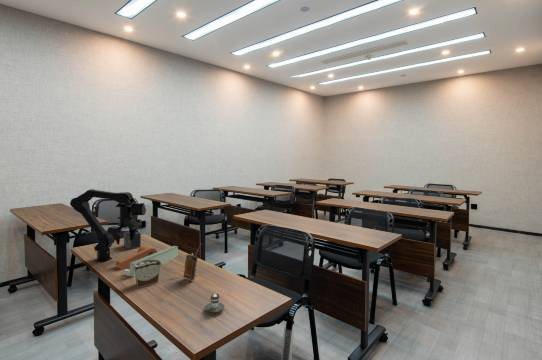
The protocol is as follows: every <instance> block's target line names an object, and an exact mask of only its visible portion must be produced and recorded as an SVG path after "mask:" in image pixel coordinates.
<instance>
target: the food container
mask: <svg viewBox="0 0 542 360" xmlns="http://www.w3.org/2000/svg"><path fill="white" fill-rule="evenodd" d="M161 266H162V264H161V262H160V260H153V259H151V260H143V261H140V262H137V263H136V264H135V265H134V269H133V271H135V275H136V276H135V282H136V288H137V289H139V288H143V287H146V286H149V285H153V284H158V283H159V281H160V280H159V278H160V270H161V269H160V268H161Z"/></svg>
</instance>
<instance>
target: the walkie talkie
mask: <svg viewBox="0 0 542 360" xmlns="http://www.w3.org/2000/svg"><path fill="white" fill-rule="evenodd" d="M201 245H202V243H200V244H199V247H198V248H197V250H196V253H195V254H194V253H193V252H191V254H186V257H185V261H184V269H183V270H184V271H183V273H178V274H173V275H170V276H168V277H166V278H168V279H169V278H171V277H174V276H181V275H182V276H183V278H185V279H188V280H191V281H192V280H195V277H199V276H198V275H199V274H198V273H196V271H197V270H196V269H197V263H198V256H197V254H198V253H199V251H200V248H201Z"/></svg>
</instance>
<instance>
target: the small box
mask: <svg viewBox="0 0 542 360" xmlns="http://www.w3.org/2000/svg"><path fill="white" fill-rule="evenodd" d="M141 239H142V238H141V232H138V231H136V233H135V236H134V238H133V240H131V239H130V232H129V230H128V231H123V247H125V248H127V249H129V250H135V249H139V247H142V246H141V245H142V244H141Z"/></svg>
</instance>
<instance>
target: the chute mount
mask: <svg viewBox="0 0 542 360" xmlns="http://www.w3.org/2000/svg"><path fill="white" fill-rule="evenodd" d="M178 248H179V246H178V245H177V246H176V245H173V246H172V245H171V246H170V247H167V248H165V249H162V250H159V251H157V253H154V254H152V255H149V256H146V257H144V258H141V259H139V260H136V261H134V262H131V263H130V268H129V269H128V268H126V269H123V276H127V277H132V278H136V275H135V271H133V269H134V265H135V264H136V263H137V262H140V261H143V260H151V259H153V260H160V262H161V265H164V264H165V263H167V262H169V261H171V260H173V259H175V258H177V257H179V256H178V255H179V252H178V250H179V249H178Z"/></svg>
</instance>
